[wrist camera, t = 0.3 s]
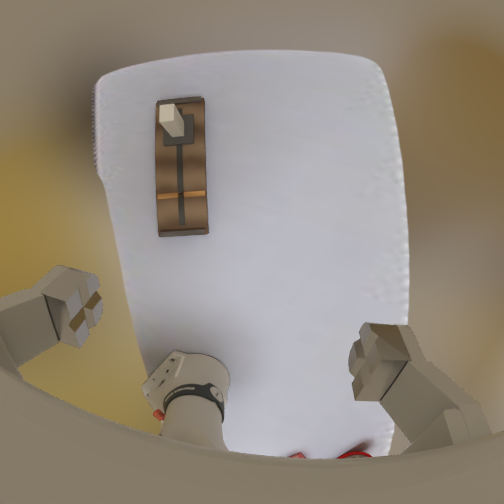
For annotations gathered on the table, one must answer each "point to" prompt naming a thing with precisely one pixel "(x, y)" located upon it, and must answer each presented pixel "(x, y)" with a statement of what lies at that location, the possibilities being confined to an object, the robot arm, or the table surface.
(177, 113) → the fader tab
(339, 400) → the table surface
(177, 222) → the fader track
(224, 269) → the table surface
